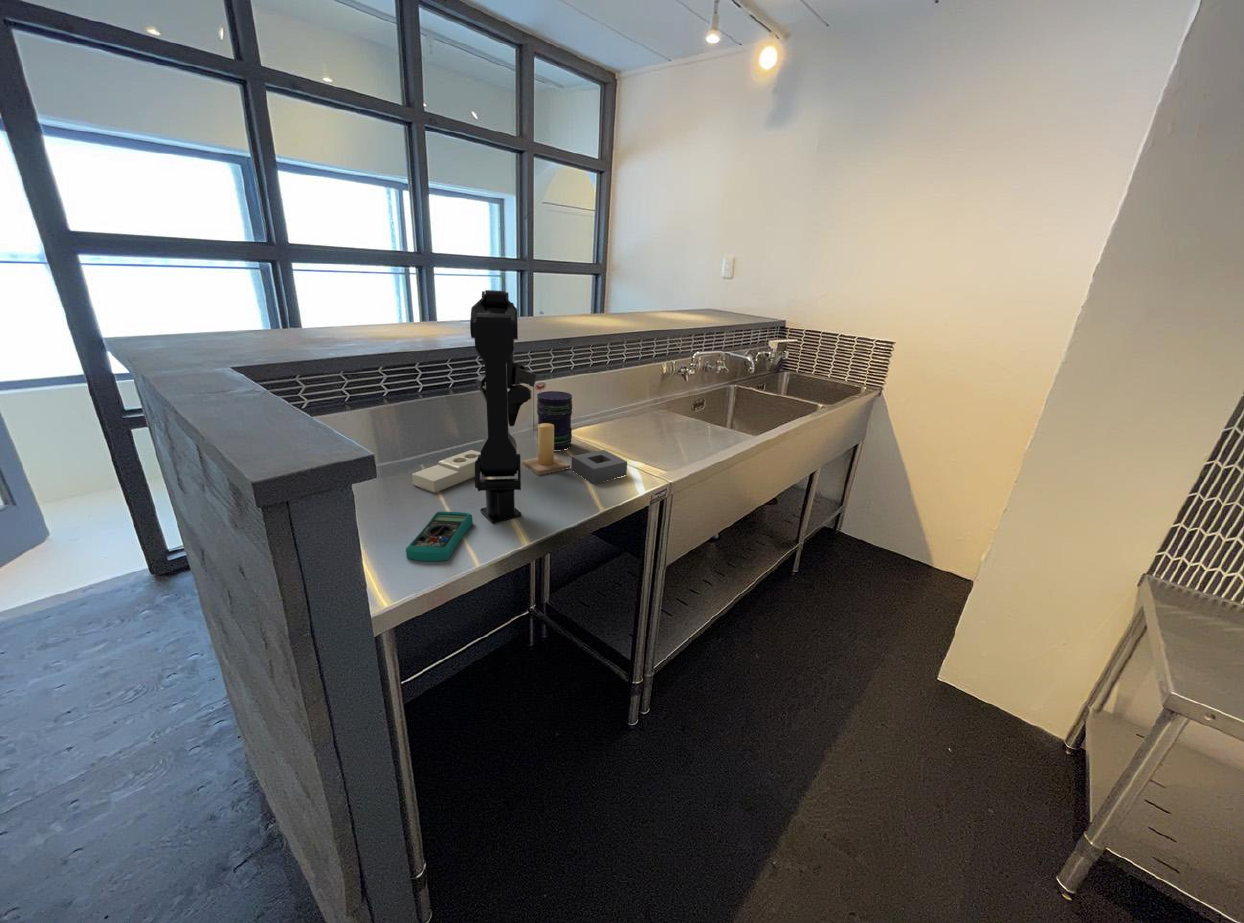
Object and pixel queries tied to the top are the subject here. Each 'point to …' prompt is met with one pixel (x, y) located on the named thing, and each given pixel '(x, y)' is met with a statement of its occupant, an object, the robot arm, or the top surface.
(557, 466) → the tan square tile
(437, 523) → the digital multimeter
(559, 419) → the storage jar
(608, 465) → the socket block
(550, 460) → the amber plug
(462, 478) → the electrical outlet
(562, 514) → the top surface
